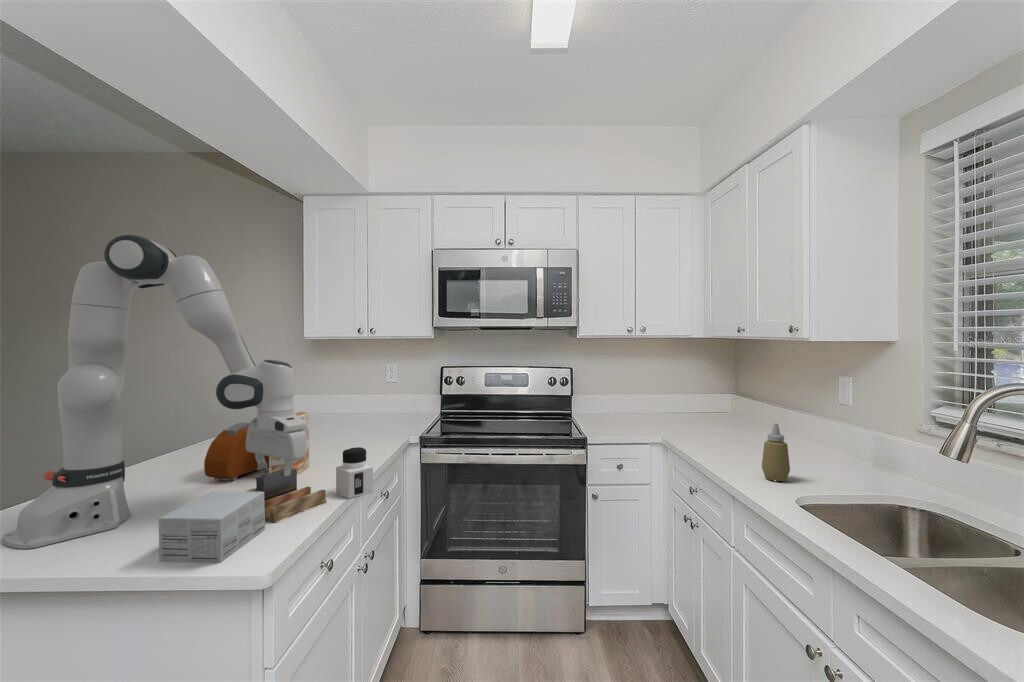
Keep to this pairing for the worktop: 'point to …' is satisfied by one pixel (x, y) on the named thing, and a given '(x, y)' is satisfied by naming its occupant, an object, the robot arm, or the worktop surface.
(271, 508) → the rack
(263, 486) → the block
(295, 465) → the coffeecake box
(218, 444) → the orange rounded block
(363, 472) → the container
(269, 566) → the worktop surface
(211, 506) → the supplement box
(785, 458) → the squeeze bottle
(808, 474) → the worktop surface
